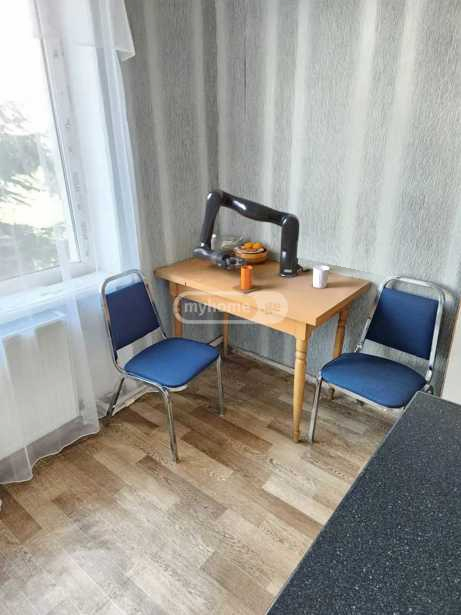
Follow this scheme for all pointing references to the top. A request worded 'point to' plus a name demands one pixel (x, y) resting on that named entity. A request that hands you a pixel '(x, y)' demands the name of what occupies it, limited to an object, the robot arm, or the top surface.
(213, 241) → the supplement tub
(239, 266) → the stake
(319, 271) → the white cup
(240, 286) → the cork coaster
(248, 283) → the orange cylinder
